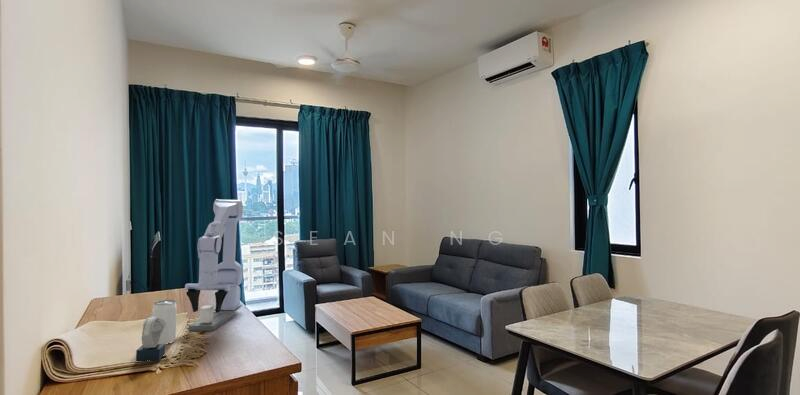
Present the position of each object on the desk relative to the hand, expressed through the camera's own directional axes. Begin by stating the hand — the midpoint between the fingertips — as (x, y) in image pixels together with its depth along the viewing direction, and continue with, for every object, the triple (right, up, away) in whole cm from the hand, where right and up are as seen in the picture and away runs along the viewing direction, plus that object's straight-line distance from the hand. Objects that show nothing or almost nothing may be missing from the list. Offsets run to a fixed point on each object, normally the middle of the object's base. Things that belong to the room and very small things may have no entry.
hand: (206, 311), depth 139 cm
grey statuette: (-1, -5, -29) cm, 29 cm away
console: (0, -5, +5) cm, 7 cm away
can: (-6, -5, -16) cm, 18 cm away
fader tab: (0, -3, 0) cm, 3 cm away
